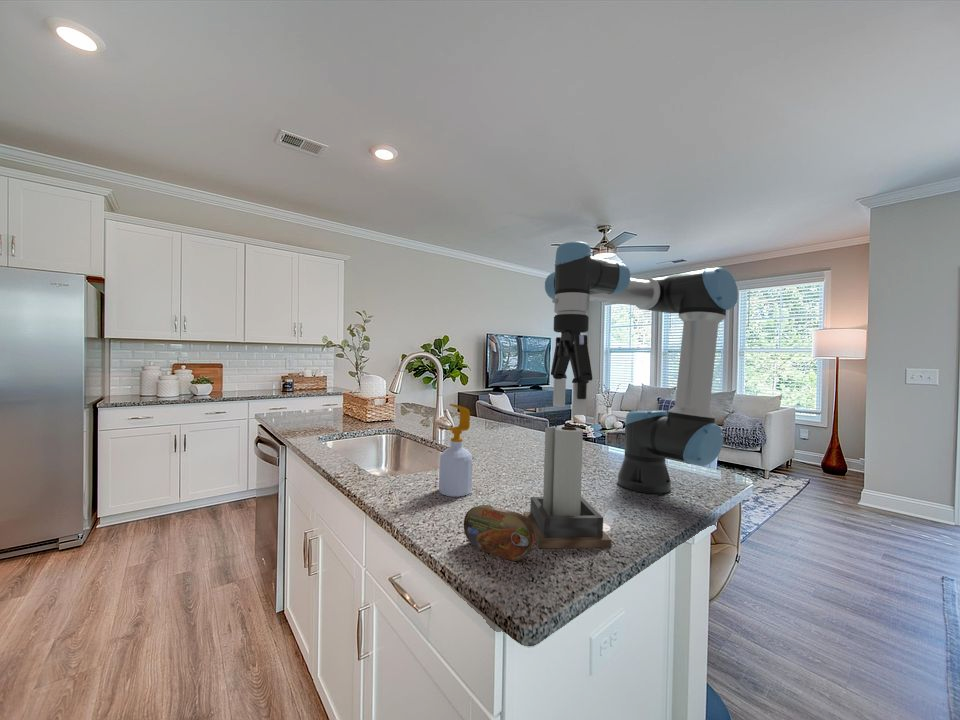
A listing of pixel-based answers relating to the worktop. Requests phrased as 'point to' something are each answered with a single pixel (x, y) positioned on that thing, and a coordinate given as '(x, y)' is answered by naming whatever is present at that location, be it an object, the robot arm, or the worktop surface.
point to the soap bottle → (456, 461)
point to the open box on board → (567, 527)
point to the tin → (499, 532)
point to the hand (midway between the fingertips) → (568, 410)
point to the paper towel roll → (562, 471)
